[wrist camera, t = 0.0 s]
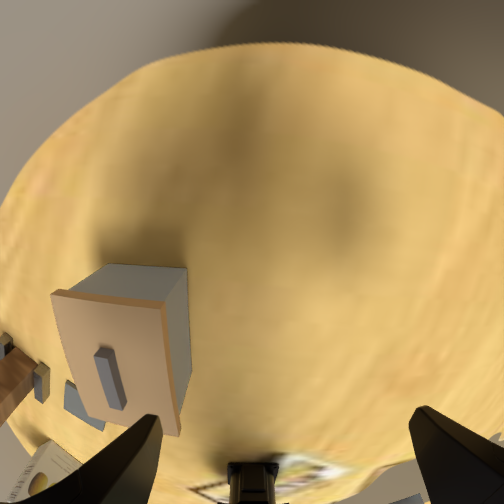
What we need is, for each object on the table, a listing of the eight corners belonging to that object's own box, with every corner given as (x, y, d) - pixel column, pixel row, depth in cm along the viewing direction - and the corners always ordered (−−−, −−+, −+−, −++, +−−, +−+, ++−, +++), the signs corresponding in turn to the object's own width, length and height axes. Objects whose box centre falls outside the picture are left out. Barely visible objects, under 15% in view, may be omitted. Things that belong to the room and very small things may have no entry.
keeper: (50, 368, 25) (42, 377, 23) (49, 395, 26) (42, 403, 24) (5, 332, 24) (-3, 339, 22) (7, 361, 25) (0, 368, 23)
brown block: (37, 364, 25) (-17, 423, 12) (37, 382, 25) (-9, 439, 13) (16, 346, 24) (-40, 398, 12) (17, 366, 25) (-32, 416, 13)
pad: (110, 405, 26) (108, 409, 25) (103, 428, 27) (102, 431, 26) (67, 380, 25) (65, 382, 24) (65, 405, 26) (63, 408, 26)
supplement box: (93, 471, 31) (65, 538, 14) (75, 475, 32) (50, 531, 16) (50, 438, 29) (12, 502, 13) (37, 445, 30) (4, 500, 14)
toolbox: (195, 373, 24) (176, 446, 15) (121, 362, 24) (83, 424, 15) (190, 264, 21) (154, 318, 13) (105, 259, 21) (40, 300, 13)
